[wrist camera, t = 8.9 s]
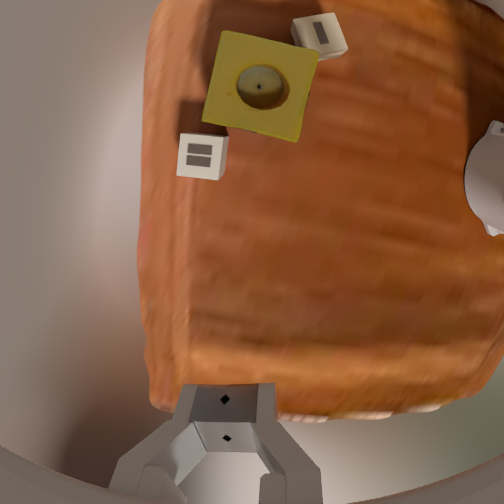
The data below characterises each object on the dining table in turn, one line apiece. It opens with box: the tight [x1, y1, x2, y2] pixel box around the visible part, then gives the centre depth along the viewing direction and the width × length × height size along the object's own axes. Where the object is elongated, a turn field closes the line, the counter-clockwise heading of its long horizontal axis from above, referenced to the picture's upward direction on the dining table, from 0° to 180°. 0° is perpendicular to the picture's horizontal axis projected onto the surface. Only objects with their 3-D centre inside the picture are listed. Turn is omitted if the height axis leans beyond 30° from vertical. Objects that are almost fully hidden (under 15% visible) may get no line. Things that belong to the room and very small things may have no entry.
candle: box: [201, 30, 319, 142], centre depth 30 cm, size 10×10×10 cm
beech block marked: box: [290, 13, 348, 61], centre depth 29 cm, size 5×5×5 cm
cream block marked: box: [177, 133, 229, 180], centre depth 36 cm, size 5×5×5 cm
